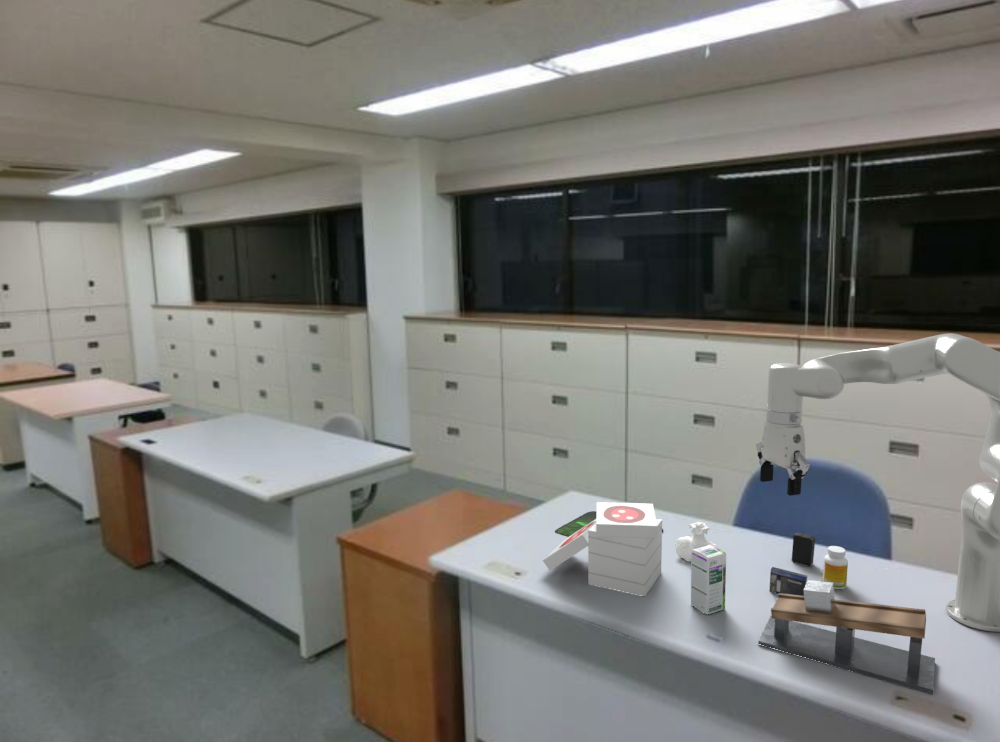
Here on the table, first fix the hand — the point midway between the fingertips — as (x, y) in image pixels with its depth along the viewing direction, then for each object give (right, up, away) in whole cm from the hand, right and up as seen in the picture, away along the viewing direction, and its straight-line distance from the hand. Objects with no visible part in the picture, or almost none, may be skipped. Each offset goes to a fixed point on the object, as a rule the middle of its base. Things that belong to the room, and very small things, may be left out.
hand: (779, 487), depth 160 cm
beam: (+6, -24, -18) cm, 31 cm away
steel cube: (+2, -23, -16) cm, 28 cm away
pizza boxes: (-38, -27, +21) cm, 51 cm away
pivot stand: (+7, -32, -17) cm, 37 cm away
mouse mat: (-33, -22, +48) cm, 62 cm away
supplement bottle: (+19, -27, +12) cm, 35 cm away
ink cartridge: (+16, -25, +24) cm, 38 cm away
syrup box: (-16, -29, +3) cm, 34 cm away
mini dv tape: (+5, -28, +8) cm, 30 cm away
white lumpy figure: (-11, -25, +28) cm, 39 cm away
